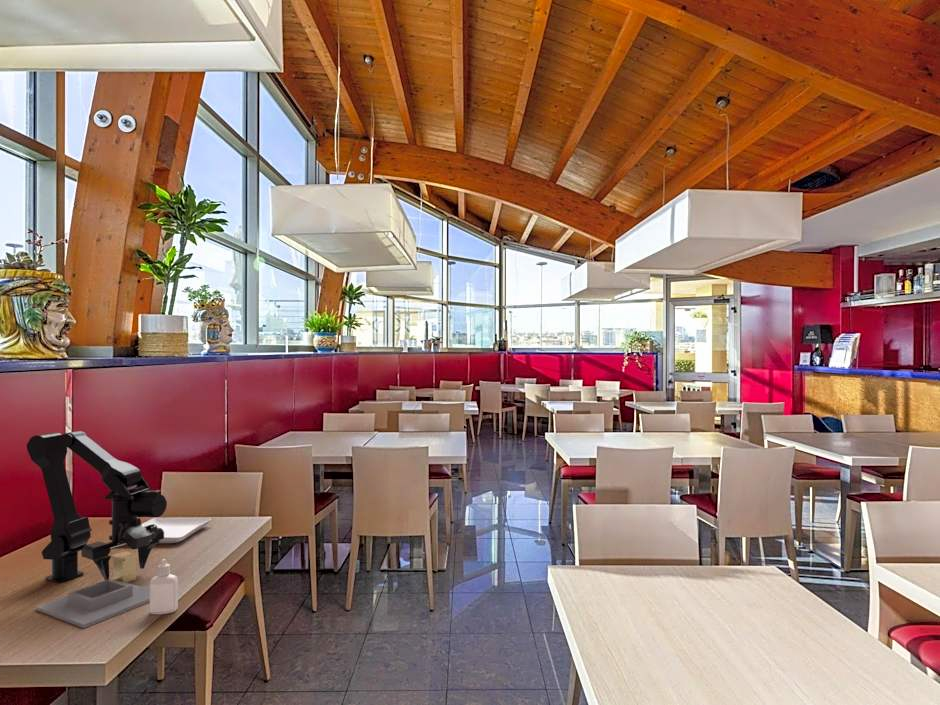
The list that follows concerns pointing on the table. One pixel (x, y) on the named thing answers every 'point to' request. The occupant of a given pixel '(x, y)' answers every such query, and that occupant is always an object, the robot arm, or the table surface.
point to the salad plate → (177, 527)
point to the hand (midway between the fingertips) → (124, 574)
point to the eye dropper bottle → (163, 591)
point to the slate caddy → (96, 602)
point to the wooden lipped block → (125, 566)
